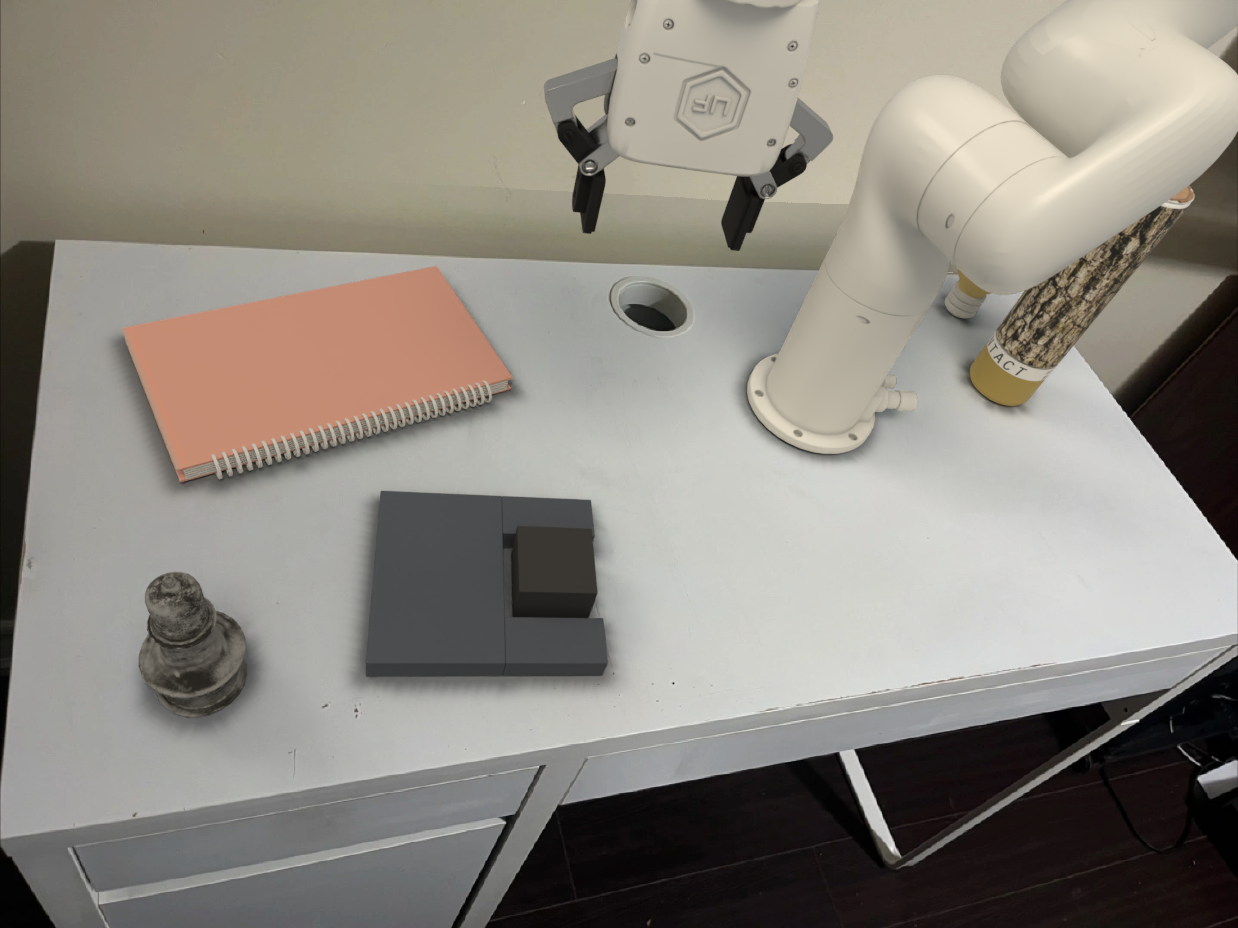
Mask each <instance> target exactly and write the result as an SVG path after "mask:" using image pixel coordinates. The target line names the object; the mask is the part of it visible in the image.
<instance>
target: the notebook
mask: <svg viewBox="0 0 1238 928" xmlns="http://www.w3.org/2000/svg"><path fill="white" fill-rule="evenodd" d="M120 328H121V332H122V334H123V337H124V342H125V344H126V347H127V349H128V352H129V354H130V358H131V360H132V362H133V365H134V367H135V370H136V372H137V375H138V378H139V380H140V383H141V386H142V388H143V390H144V393H145V396H146V398H147V401H148V404H149V406H150V409H151V411H152V413H153V416H154V417H153V418H155V422H156V424H157V427H158V429H159V432H160V434H161V437H162V440H163V442H164V444H165V447H166V450H167V452H168V455H169V457H170V460H171V463H172V465H173V468H174V471H175V473H176V475H177V478H178V481H179V483H184V482H189V481H191V480H194V479H198V478H201V477H205V476H209V475H212V474H215V475H216V478H217V479H218V480H222V479H223V473H222V471H226V474H227V475H228V477H233V475H234V474H233V473H234V472H233V468H236V470H237V473H238V474H239V475H240V474H243V473H244V468H243V465H245V466H246V469H247V470H248V471H249V472H250V471H253V470H254V466H253V463H254V462H255V464H256V467H257V468H258V469H261V468H263V466H264V465H263V460H265V463H266V464H267V465H268V466H271V465H272V464H273V457H274V460H275V461H276V462H277V463H281V462H282V461H283V460H282V455H283V456H284V458H285V460H287V461H289V460H291V459H292V453H291V452H293V455H294V456H295V457H296V458H300V457H301V449H302V452H303V453H304V454H305V455H309V454H310V453H311V452H310V447H311V449H312V451H313V452H314V453H317V452H318V451H320V447H321V449H323V450H327V449H328V448H329V444H330V446H331V447H332V448H334V447H336V446H337V445H338V442H339V444H341V445H345V444H346V442H347V440H348V441H349V443H352V442H354V441H355V439H356V438H357V439H358V440H361V439H362V440H363V438H364V435H365V436H366V437H367V438H369V437H371V436H372V435H373V434H375V435H376V436H377V435H380V433H381V432H384V433H386V432H388V431H389V430H390V429H391V430H392V431H394V430H397V428H398V426H399V427H400V428H404V427H405V426H406V424H407V425H408V426H412V425H413V424H414V422H416V423H421V422H422V420H424V421H428V420H430V418H433V419H436V418H437V417H438V415H439V416H441V417H444V416H445V415H446V413H448V414H452V413H453V412H454V411H455V412H460V411H461V410H462V409H464V410H467V409H468V408H469V406H470V407H471V408H474V407H476V406H477V404H478V405H480V406H482V405H483V404H484V403H488V404H489V403H491V401H492V399H493V395H496V394H499V393H502V392H506V391H509V390H511V389H512V387H511V385H510V384H509V381H510V380H513V379H514V378H513V375H512V374H511V373H510V371H509V370H508V368H507V366H506V365H505V364H504V362H503V360H502V359H501V358H500V357H499V355H498V354H497V352H496V350H495V349H494V348H493V347H492V344H491V343H490V341H488V339H487V337H486V336H485V335H484V333H483V332H482V330H481V329H480V327H479V325H478V324H477V323H476V322H475V320H474V318H473V317H472V316H471V314H470V313H469V311H468V309H466V306H465V305H464V304H463V303H462V300H460V298H459V296H458V295H457V294H456V292H455V290H454V289H453V288H452V286H451V285H450V284H449V282H448V280H447V279H446V277H445V276H444V275H443V273H442V272H441V270H440V269H439V267H438V266H437V265H433V266H429V267H427V266H426V267H423V268H418V269H412V270H407V271H402V272H398V273H393V274H386V275H383V276H377V277H372V278H366V279H361V280H356V281H352V282H347V283H340V284H336V285H331V286H326V287H321V288H316V289H311V290H305V291H301V292H296V293H291V294H286V295H280V296H275V297H269V298H264V299H259V300H254V301H250V302H244V303H240V304H235V305H229V306H224V307H218V308H214V309H208V310H203V311H198V312H194V313H188V314H183V315H179V316H173V317H168V318H162V319H158V320H152V321H148V322H143V323H138V324H132V325H127V326H123V327H122V326H121V327H120ZM487 397H488V399H487ZM479 399H480V400H479ZM472 401H473V403H472ZM464 403H465V405H464ZM456 405H458V407H457V406H456ZM449 408H450V409H449ZM441 410H442V411H441ZM425 414H426V415H425ZM417 416H418V417H417ZM409 419H410V420H409ZM401 421H402V422H401ZM355 436H356V438H355ZM346 438H347V439H346ZM337 440H338V441H337ZM328 443H329V444H328ZM319 444H320V447H319Z"/></svg>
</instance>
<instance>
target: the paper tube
mask: <svg viewBox="0 0 1238 928" xmlns="http://www.w3.org/2000/svg"><path fill="white" fill-rule="evenodd" d="M1195 197H1196V196H1195V193H1194V190H1193V188H1192V187H1191V186H1190V185H1189V186H1188V187H1186V188H1185V189H1184V190H1182V191H1181V192H1179V193H1178V194H1177V195H1175V196H1174V197H1172V198H1171V199H1170V200H1168V201H1167V202H1165V203H1164V204H1162V205H1161V206H1159V207H1158V208H1156V209H1155V210H1153V211H1152V212H1150V213H1149V214H1147V215H1146V216H1144V217H1143V218H1141V219H1140V220H1138V221H1137V222H1135V223H1133V224H1132V225H1130V226H1129V227H1127V228H1126V229H1124V230H1123V231H1121V232H1120V233H1118V234H1117V235H1115V236H1114V237H1112V238H1111V239H1109V240H1108V241H1106V242H1104V243H1103V244H1101V245H1100V246H1098V247H1097V248H1095V249H1094V250H1092V251H1091V252H1089V253H1088V254H1086V255H1085V256H1083V257H1082V258H1080V259H1079V260H1077V261H1076V262H1074V263H1072V264H1071V265H1069V266H1068V267H1066V268H1065V269H1063V270H1062V271H1060V272H1058V273H1057V274H1055V275H1054V276H1052V277H1050V278H1049V279H1047V280H1045V281H1044V282H1042V283H1040V284H1038V285H1036V286H1034V287H1032V288H1030V289H1028V290H1025V291H1023V292H1022V293H1021V295H1020V296H1019V298H1018V299H1017V300H1016V302H1015V303H1014V305H1013V306H1012V308H1011V309H1010V310H1009V312H1008V313H1007V314H1006V316H1005V317H1004V319H1003V320H1002V322H1001V323H1000V324H999V325H998V327H997V329H996V330H995V331H994V332H993V334H992V335H991V336H990V338H989V340H988V341H987V342H986V344H985V345H984V347H983V348H982V349H981V351H980V352H979V353H978V355H977V356H976V358H975V359H974V361H972V363H971V366H969V367H970V368H969V377H970V381H971V383H972V385H973V386H974V387H975V389H976V390H977V392H979V393H980V394H981V395H983V396H984V397H985V398H986V399H988V400H990V401H992V402H993V403H996V404H999V405H1003V406H1006V407H1017V406H1020V405H1023V404H1026V403H1027V402H1028V401H1029V400H1030V399H1031V397H1032V396H1033V395H1034V394H1035V393H1036V391H1038V389H1039V388H1040V387H1041V385H1042V384H1043V383H1044V382H1045V381H1046V379H1047V378H1048V377H1049V376H1050V375H1051V374H1052V373H1053V372H1054V370H1055V369H1056V367H1058V365H1059V364H1060V363H1061V362H1062V361H1063V359H1064V358H1065V357H1066V356H1067V354H1068V353H1069V352H1070V351H1071V350H1072V348H1073V347H1074V346H1075V345H1076V343H1077V342H1079V340H1080V338H1081V337H1082V336H1083V335H1084V334H1085V333H1086V332H1087V330H1089V328H1090V327H1091V325H1092V324H1093V323H1094V322H1095V320H1096V319H1097V318H1098V317H1099V316H1100V314H1102V312H1103V311H1104V310H1105V308H1106V307H1107V306H1108V305H1109V304H1110V302H1111V301H1112V300H1113V299H1114V297H1115V296H1116V295H1117V294H1118V292H1119V291H1120V290H1121V289H1122V288H1123V287H1124V286H1125V284H1126V283H1127V282H1128V281H1129V279H1130V278H1131V277H1132V276H1133V274H1134V273H1135V272H1136V271H1137V270H1138V269H1139V267H1140V266H1141V265H1142V264H1143V263H1144V261H1145V260H1146V259H1147V258H1148V256H1149V255H1150V254H1151V253H1152V252H1153V250H1154V249H1155V248H1156V247H1157V245H1158V244H1159V243H1160V242H1161V241H1162V240H1163V238H1164V237H1165V236H1166V235H1167V233H1168V232H1169V231H1170V230H1171V229H1172V228H1173V226H1174V225H1175V224H1176V222H1178V220H1179V219H1180V217H1181V216H1182V215H1183V214H1184V213H1185V212H1186V211H1187V209H1188V208H1189V207H1190V205H1191V204H1192V202H1193V201H1194V200H1195Z"/></svg>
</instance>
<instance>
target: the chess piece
mask: <svg viewBox="0 0 1238 928" xmlns="http://www.w3.org/2000/svg"><path fill="white" fill-rule="evenodd" d="M144 604H145V606H146V609H147V611H148V614H149V615H148V618H147V621H146V630H147V632H148V634H147V636H146V637H145V639H144V641H143V642H142V644H141V646H140V650H139V653H138V669H139V672H140V675H141V678H142V680H143V681H144V682H145V683H146V684H147V685H148V687H149V688H151V689H152V690H153V691H155V692H156V696H157V699H158V701H159V702H160V703H161V705H162V706H163V707H164V708H165V709H166V710H167V711H169V712H171V713H172V714H175V715H177V716H180V717H184V718H201V717H206V716H212V715H213V714H215V713H218V712H220V711H222V710H223V709H225V708H226V707H228V706H230V705H231V704H232V703H233V702H234V701H235V700H236V699H237V697H238V696H239V695H240V694H241V692H242V690H243V688H244V686H246V681H247V676H248V665H247V662H246V659H245V655H246V651H247V644H246V636H245V634H244V631H243V629H242V627H241V626H240V624H239V623H238V622H237V621H236V620H235V619H234V618H233V617H231V616H229V615H228V614H226V613H224V612H222V611H219V610H216V608H215V606H214V604H213V603H212V602H211V600H210V599H209V598H207V597H205V595H204V592H203V589H202V585H201V583H200V582H199V581H198V580H197V578H195V576H192V575H191V574H189V573H186V572H183V571H170V572H169V571H168V572H166V573H163V574H160V575H158V576H157V577H155V578H154V579H153V580H151V582H150V583H149V584H148V586H146V590H145V592H144Z"/></svg>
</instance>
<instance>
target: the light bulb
mask: <svg viewBox="0 0 1238 928" xmlns="http://www.w3.org/2000/svg"><path fill="white" fill-rule="evenodd" d="M957 274H958V280H957V281H955V283H954V284H953V287H952V288H951V289H950V291H949V293H948V294H947V296H946V297H945V299H944V305H945V307H946V310H947V311H948V312H949V313H950V314H951V315H952V316H954V317H956V318H959V319H971V318H973V317H974V316H976V314H977V312H978V310H979V309H981V307H982V306H983V304H984V303H985V301H986V299H987V295H991V293H989V292H987V291H985V290H983V289H981V288H979V287H978V286H977V285H975V284H974V283H973V282H972V281H971V280H970V279H968V278H967V277H966V276H965V275H964V274H963V273H962V272H961V271H960V270H959V269H958V268H957Z"/></svg>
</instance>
